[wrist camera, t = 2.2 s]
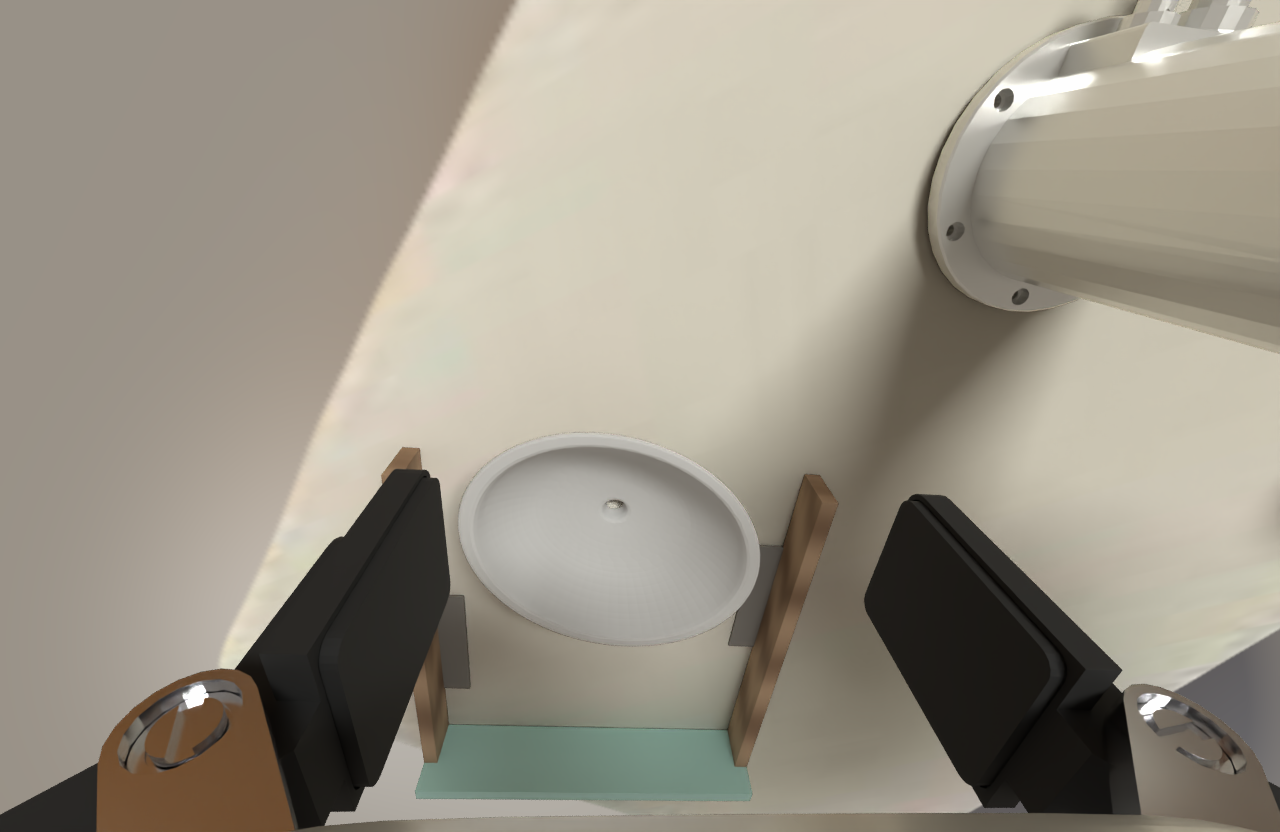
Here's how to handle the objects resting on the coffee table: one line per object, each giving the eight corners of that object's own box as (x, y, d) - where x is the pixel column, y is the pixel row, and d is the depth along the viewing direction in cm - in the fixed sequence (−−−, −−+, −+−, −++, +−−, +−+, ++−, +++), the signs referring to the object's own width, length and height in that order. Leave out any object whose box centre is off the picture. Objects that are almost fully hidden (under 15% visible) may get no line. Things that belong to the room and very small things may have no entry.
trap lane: (402, 447, 30) (364, 496, 25) (819, 475, 32) (853, 525, 27) (437, 731, 42) (416, 798, 38) (736, 737, 44) (749, 801, 40)
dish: (789, 478, 32) (817, 529, 28) (666, 616, 37) (673, 678, 33) (544, 341, 27) (530, 376, 23) (442, 522, 32) (414, 579, 28)
